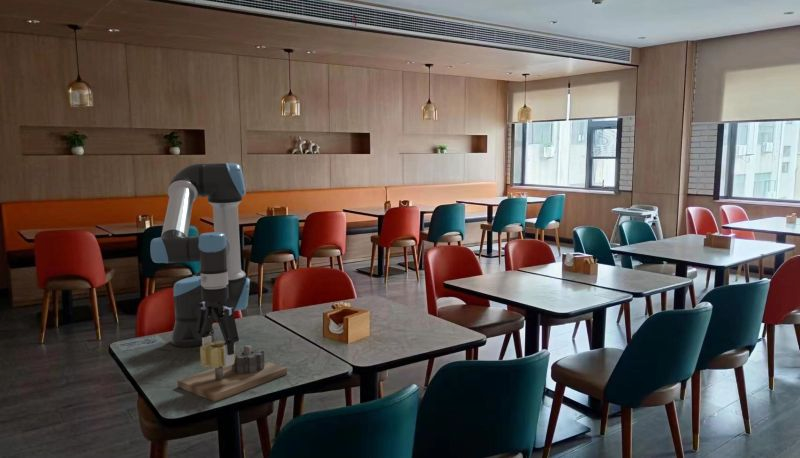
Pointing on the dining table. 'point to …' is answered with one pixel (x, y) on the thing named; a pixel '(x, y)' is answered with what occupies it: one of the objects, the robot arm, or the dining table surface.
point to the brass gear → (213, 354)
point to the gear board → (233, 376)
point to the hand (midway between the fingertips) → (218, 361)
